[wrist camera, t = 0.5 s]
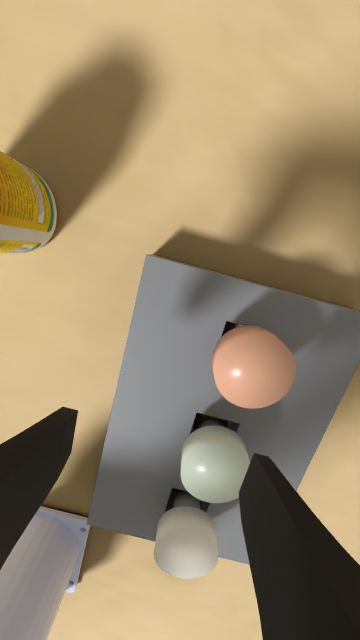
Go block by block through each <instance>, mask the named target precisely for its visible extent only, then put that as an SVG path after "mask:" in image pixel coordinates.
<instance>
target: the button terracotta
mask: <svg viewBox="0 0 360 640" xmlns="http://www.w3.org/2000/svg"><path fill="white" fill-rule="evenodd" d="M212 368H213V373H214V379H215V383H216V386H217V388H218V390H219V392H220V393H221V394H222V395H223V397H224V398H225V399H227V400H228V401H229V402H231V403H232V404H235V405H237V406H240V407H243V408H251V409H254V408H263V407H266V406H269V405H272V404H274V403H276V402H277V401H279V400H280V399H282V398H283V397H284V396H285V395H286V394H287V393H288V391H289V390H290V388H291V387H292V385H293V383H294V380H295V376H296V363H295V359H294V357H293V355H292V353H291V351H290V350H289V349H288V347H287V346H286V345H285V344H284V343H283V342H282V341H281V340H280V339H279V338H278V337H277V336H275V335H274V334H273V333H272V332H271V331H269V330H267V329H265V328H263V327H260V326H254V325H245V326H240V327H237V328H234V329H232V330H230V331H228V332H227V333H225V334H224V335H223V336H222V337H221V338H220V339H219V340H218V342H217V343H216V345H215V347H214V350H213V353H212Z"/></svg>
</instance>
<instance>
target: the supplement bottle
mask: <svg viewBox="0 0 360 640" xmlns="http://www.w3.org/2000/svg"><path fill="white" fill-rule="evenodd" d="M56 222H57V209H56V203H55V199H54V196H53V194H52V192H51V190H50V188H49V186H48V185H47V183H46V182H45V181H44V180H43V178H42V177H41V176H40V175H38V174H37V173H36V172H35V171H34V170H32V169H31V168H29V167H27V166H26V165H24V164H22V163H20V162H18V161H16V160H15V159H13V158H11V157H9V156H8V155H6V154H4V153H2V152H0V253H28V252H32V251H35V250H37V249H39V248H41V247H42V246H44V245H45V244H46V243H47V242H48V241H49V240H50V238H51V237H52V235H53V233H54V230H55V228H56Z"/></svg>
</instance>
